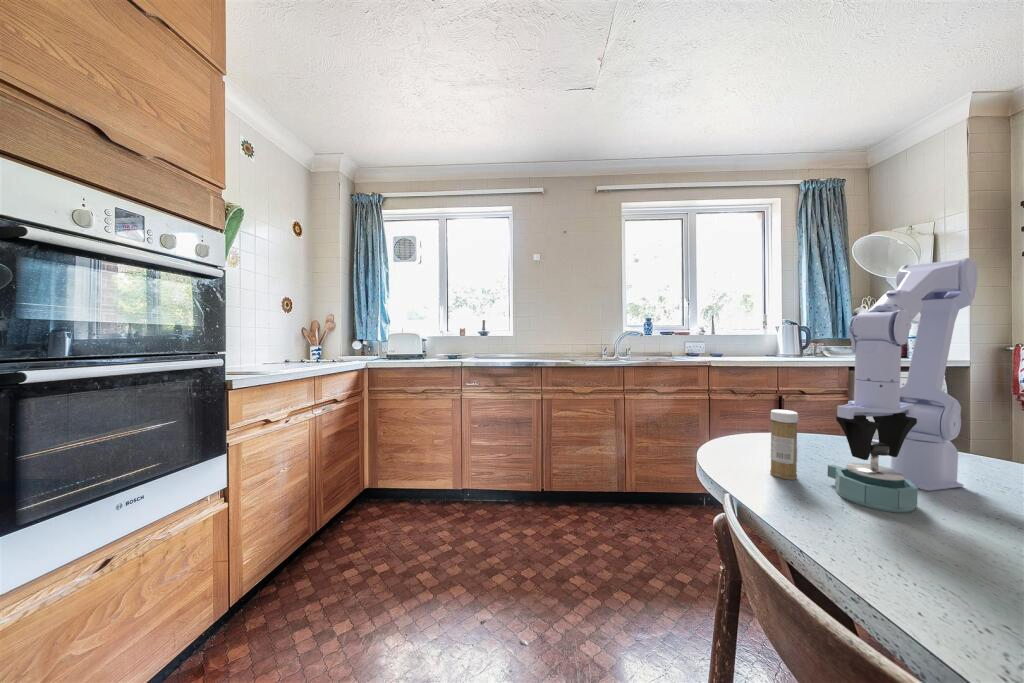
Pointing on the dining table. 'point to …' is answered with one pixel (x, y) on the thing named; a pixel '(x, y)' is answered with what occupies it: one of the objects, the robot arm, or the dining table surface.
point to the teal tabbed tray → (874, 491)
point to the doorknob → (876, 466)
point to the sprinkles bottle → (784, 443)
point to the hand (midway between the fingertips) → (874, 456)
